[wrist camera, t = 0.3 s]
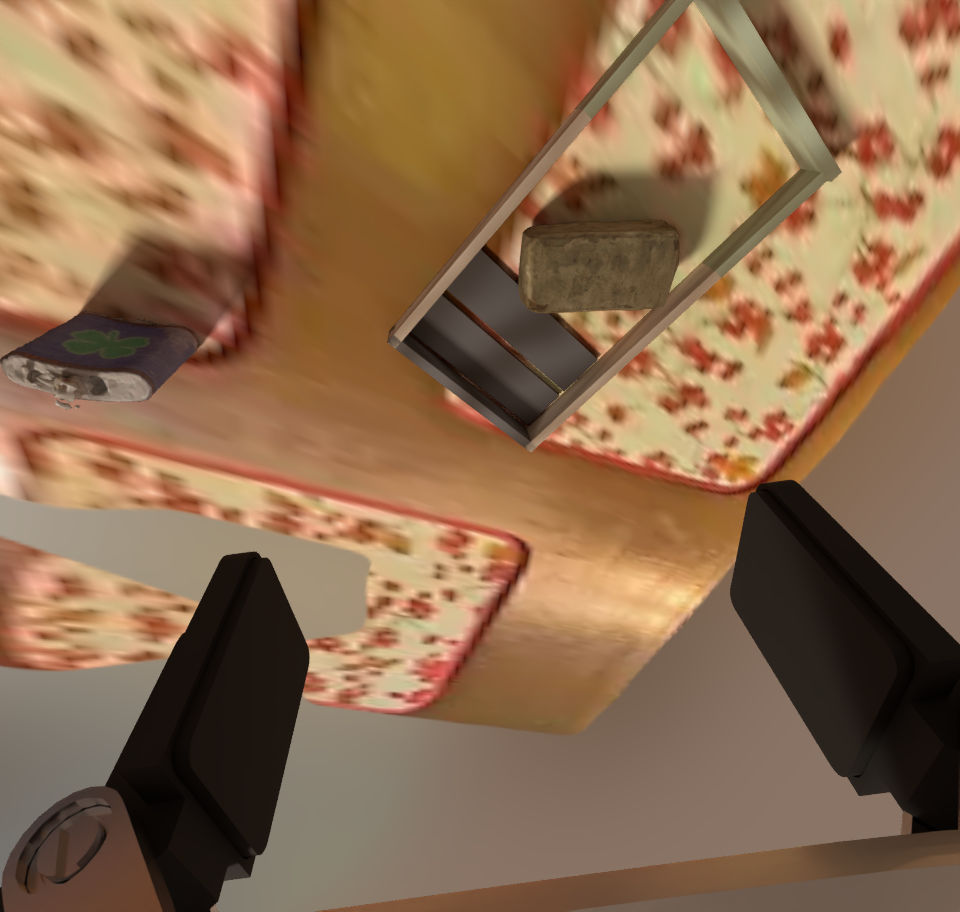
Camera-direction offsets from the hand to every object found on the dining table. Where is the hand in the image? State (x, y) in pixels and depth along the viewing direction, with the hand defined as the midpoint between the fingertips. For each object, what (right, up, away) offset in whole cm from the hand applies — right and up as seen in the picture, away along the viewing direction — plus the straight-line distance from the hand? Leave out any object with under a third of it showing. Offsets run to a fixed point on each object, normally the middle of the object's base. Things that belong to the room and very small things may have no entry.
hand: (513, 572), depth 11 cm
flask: (-28, +12, +32) cm, 44 cm away
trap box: (+8, +18, +31) cm, 37 cm away
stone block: (+8, +18, +32) cm, 37 cm away
